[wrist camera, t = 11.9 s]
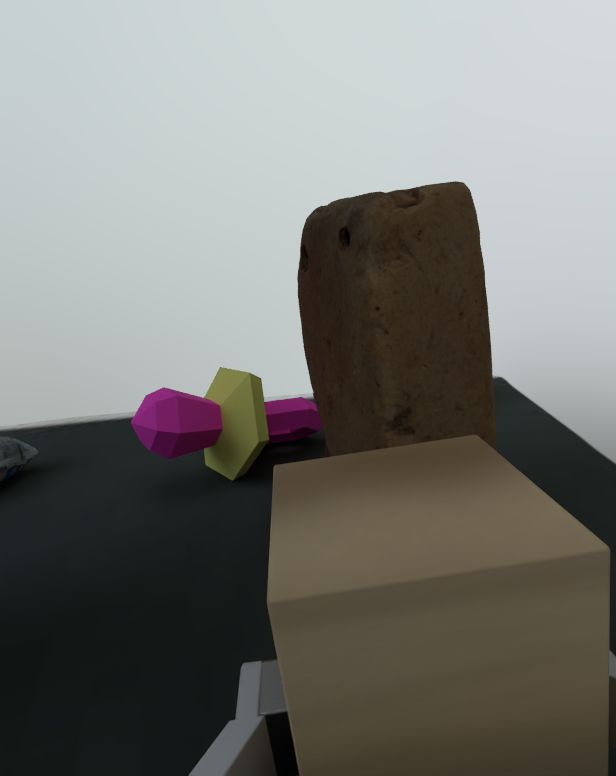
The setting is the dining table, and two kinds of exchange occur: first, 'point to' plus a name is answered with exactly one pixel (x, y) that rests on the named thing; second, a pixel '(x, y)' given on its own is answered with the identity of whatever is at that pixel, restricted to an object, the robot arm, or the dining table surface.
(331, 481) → the maple block
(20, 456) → the packaged food
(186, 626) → the dining table surface
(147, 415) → the toy
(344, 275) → the block
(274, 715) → the robot arm
